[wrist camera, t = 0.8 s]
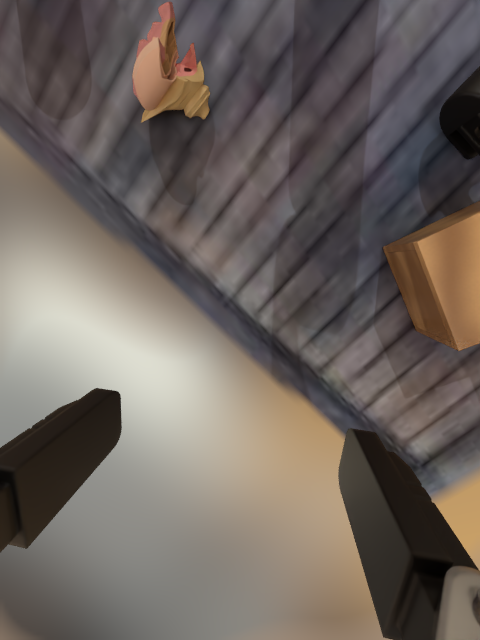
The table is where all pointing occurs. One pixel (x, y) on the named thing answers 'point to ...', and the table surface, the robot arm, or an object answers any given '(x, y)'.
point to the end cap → (463, 117)
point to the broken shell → (168, 73)
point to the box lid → (455, 277)
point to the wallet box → (421, 277)
